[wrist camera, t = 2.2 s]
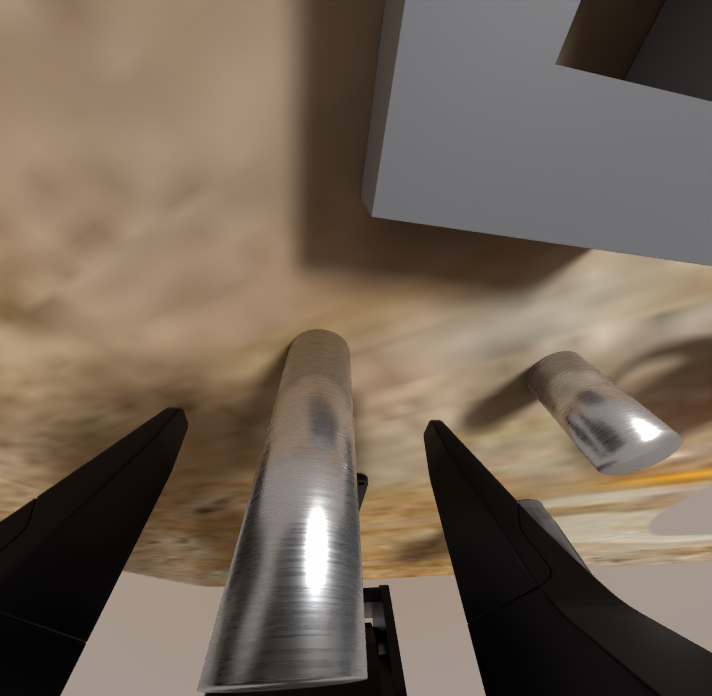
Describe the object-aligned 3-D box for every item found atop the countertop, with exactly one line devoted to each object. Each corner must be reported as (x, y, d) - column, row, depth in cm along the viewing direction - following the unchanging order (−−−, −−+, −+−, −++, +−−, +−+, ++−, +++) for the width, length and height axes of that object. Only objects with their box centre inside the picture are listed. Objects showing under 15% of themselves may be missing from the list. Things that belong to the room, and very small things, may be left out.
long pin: (346, 379, 14) (356, 683, 6) (289, 375, 14) (213, 696, 5) (353, 332, 12) (382, 671, 4) (288, 326, 12) (176, 686, 4)
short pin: (561, 393, 15) (640, 475, 11) (515, 390, 15) (580, 474, 11) (595, 353, 14) (702, 433, 10) (544, 349, 13) (633, 430, 9)
